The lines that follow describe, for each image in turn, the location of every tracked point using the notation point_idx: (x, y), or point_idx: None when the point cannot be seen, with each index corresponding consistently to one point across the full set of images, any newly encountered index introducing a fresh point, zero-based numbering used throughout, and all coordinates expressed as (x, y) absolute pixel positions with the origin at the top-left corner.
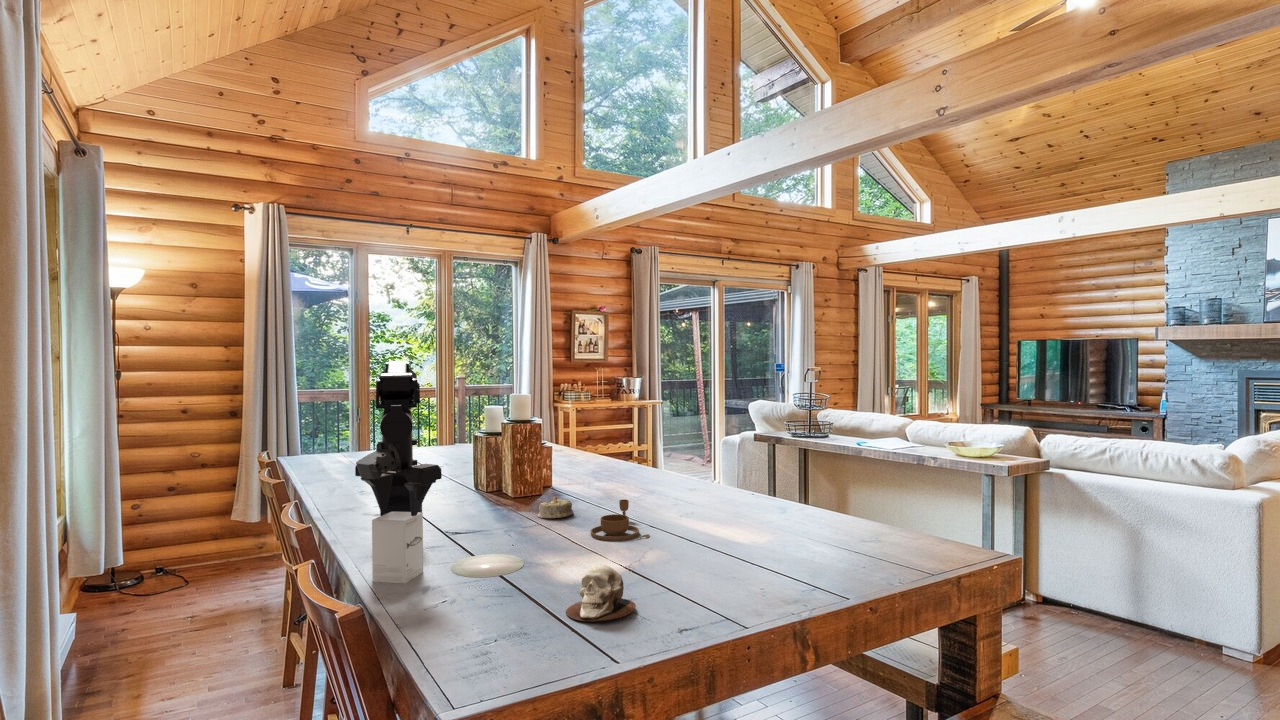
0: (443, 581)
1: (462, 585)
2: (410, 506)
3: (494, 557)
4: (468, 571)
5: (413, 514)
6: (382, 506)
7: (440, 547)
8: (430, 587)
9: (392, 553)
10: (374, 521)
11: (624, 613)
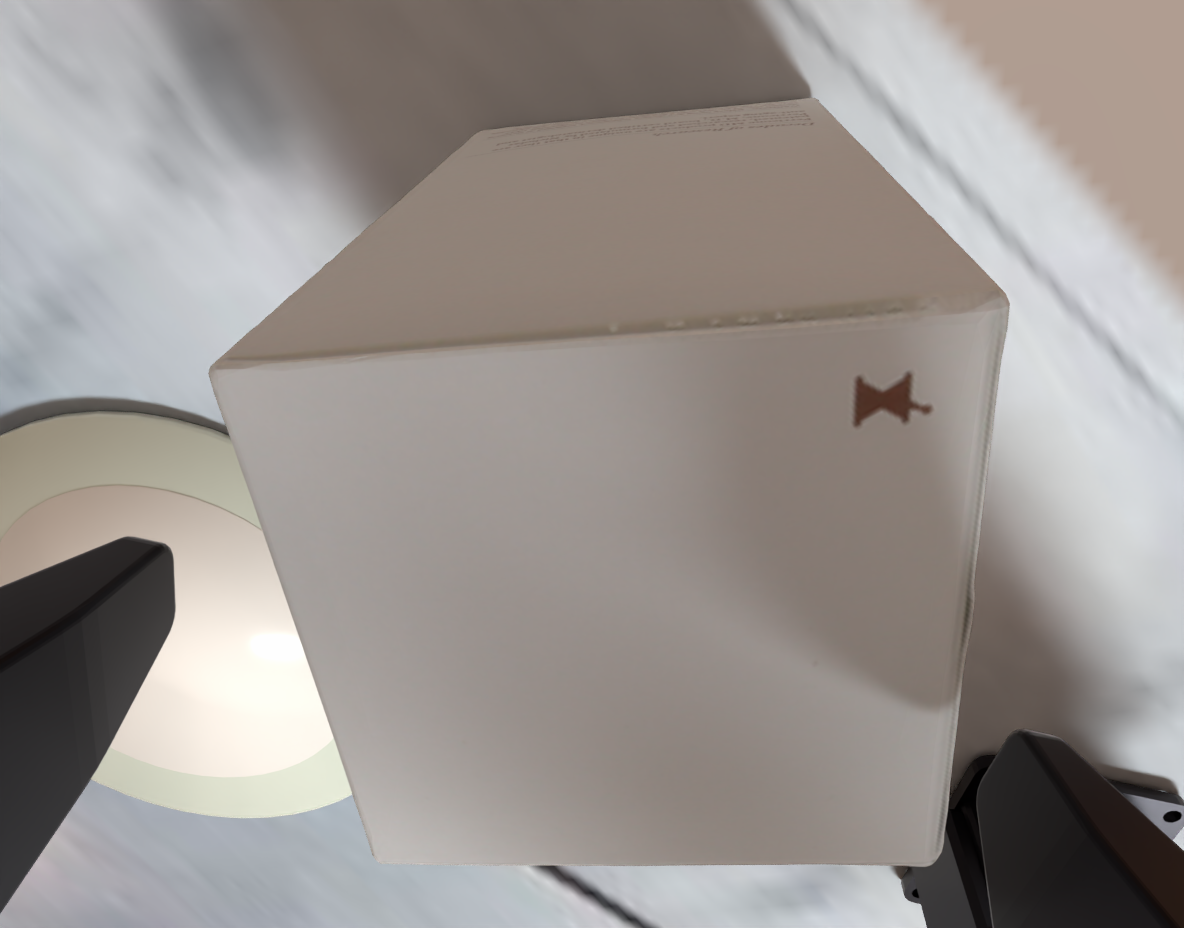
0: (232, 291)
1: (23, 244)
2: (4, 642)
3: (240, 761)
4: (179, 493)
5: (98, 555)
6: (1047, 817)
7: (754, 888)
8: (218, 127)
9: (562, 170)
10: (929, 286)
11: None
